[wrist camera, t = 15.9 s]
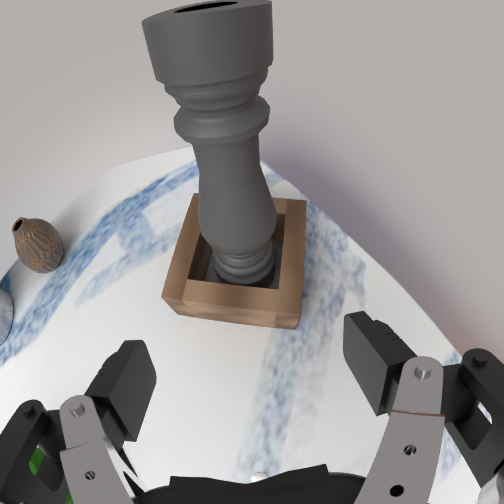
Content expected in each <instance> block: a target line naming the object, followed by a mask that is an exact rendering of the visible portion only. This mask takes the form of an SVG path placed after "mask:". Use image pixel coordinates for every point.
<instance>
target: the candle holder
mask: <svg viewBox="0 0 504 504" xmlns="http://www.w3.org/2000/svg"><path fill="white" fill-rule="evenodd" d="M142 27H143V31H144V35H145V39H146V43H147V47H148V51H149V55H150V59H151V62H152V66H153V70H154V74H155V77H156V80H157V81H159V82H161V83H163V84H164V85H165V91H166V92H167V93H168V94H169V95H171V96H173V97H174V98H175V100H176V101H177V103H178V104H179V105H180V106H181V108H180V109H179V110H178V112H177V113H176V115H175V117H174V127H175V131H176V132H177V134H178V135H179V136H180V137H181V138H183V139H184V140H185V141H186V142H189V143H191V144H192V145H193V149H194V153H195V157H196V161H197V165H198V168H199V204H198V221H199V226H200V231H201V234H202V236H203V237H204V238H205V240H206V241H207V242H208V243H209V245H210V246H211V247H212V254H213V257H212V261H213V265H214V270H215V272H216V275H217V277H218V280H219V283H222V284H230V285H239V286H248V287H258V288H267V289H268V288H269V286H270V285H271V283H272V281H273V280H274V274H275V258H276V253H275V250H274V248H273V243H272V241H271V238H270V237H271V236H272V234H273V232H274V230H275V227H276V217H277V211H276V208H275V206H274V203H273V200H272V197H271V195H270V192H269V189H268V186H267V183H266V180H265V177H264V175H263V172H262V169H261V166H260V157H259V138H258V133H259V132H260V131H261V130H262V129H263V128H264V127H265V126H266V125H267V123H268V119H269V113H270V106H269V105H268V104H267V102H266V101H265V99H264V98H262V97H260V96H259V95H258V93H259V90H260V86H261V85H262V83H263V82H264V81H265V80H266V77H267V73H268V67H269V66H270V65H272V61H273V25H272V2H271V1H269V0H216V1H208V2H202V3H196V4H191V5H187V6H182V7H178V8H174V9H170V10H167V11H164V12H161V13H158V14H156V15H153V16H151V17H148V18H146V19H144V20H143V21H142Z"/></svg>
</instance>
